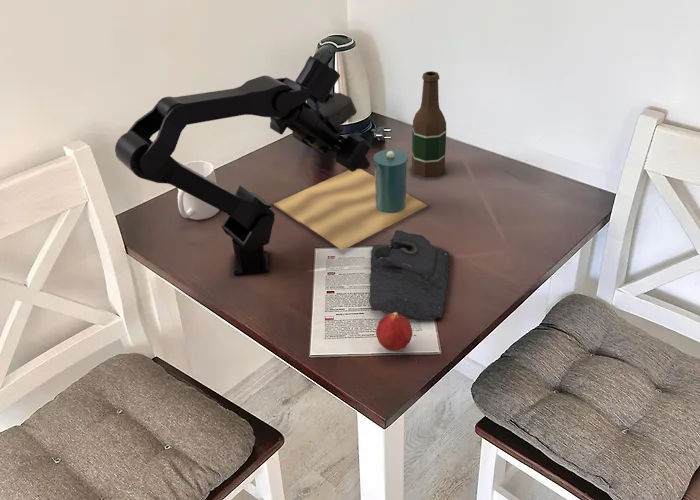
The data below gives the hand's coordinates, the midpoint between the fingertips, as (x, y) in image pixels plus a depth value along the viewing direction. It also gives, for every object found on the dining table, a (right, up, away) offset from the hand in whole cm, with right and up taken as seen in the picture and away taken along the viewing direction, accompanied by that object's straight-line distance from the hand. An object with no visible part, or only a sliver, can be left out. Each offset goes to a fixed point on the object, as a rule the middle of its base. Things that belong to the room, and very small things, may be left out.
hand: (353, 158), depth 134 cm
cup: (-34, -11, +11) cm, 37 cm away
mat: (-1, -9, +11) cm, 14 cm away
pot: (+8, -9, +10) cm, 15 cm away
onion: (+6, -35, -25) cm, 44 cm away
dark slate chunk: (+10, -25, -11) cm, 29 cm away
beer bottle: (+18, 0, +22) cm, 28 cm away
